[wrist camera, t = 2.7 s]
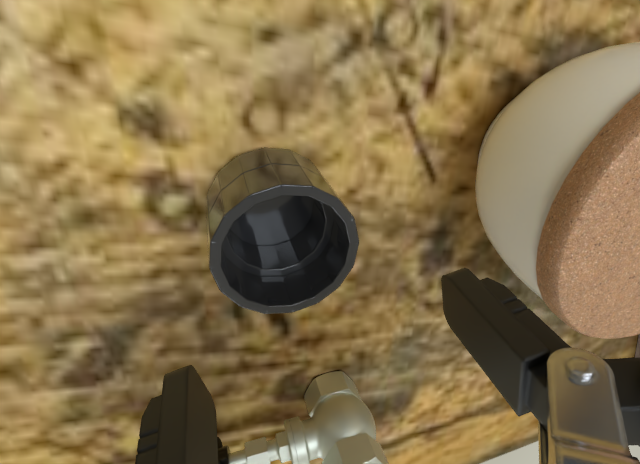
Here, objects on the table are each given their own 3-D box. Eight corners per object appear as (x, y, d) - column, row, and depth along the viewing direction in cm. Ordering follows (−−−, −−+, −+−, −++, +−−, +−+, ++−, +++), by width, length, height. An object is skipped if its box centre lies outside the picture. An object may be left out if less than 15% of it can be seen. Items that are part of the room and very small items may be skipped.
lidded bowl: (659, 112, 24) (943, 180, 15) (515, 267, 28) (675, 399, 19) (557, -35, 18) (926, -73, 9) (390, 186, 22) (534, 322, 13)
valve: (355, 349, 27) (176, 395, 25) (396, 436, 22) (171, 506, 19) (356, 408, 31) (198, 454, 28) (392, 497, 25) (199, 563, 23)
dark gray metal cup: (231, 268, 22) (239, 332, 17) (186, 167, 18) (183, 216, 14) (335, 232, 22) (368, 285, 18) (310, 128, 19) (343, 164, 15)
